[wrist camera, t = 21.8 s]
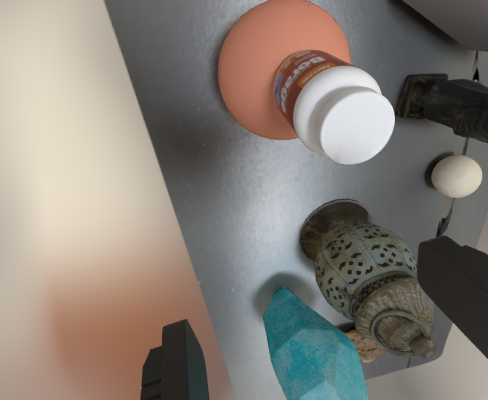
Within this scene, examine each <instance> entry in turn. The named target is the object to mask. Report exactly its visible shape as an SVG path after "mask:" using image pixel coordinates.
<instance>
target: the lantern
mask: <svg viewBox="0 0 488 400" xmlns="http://www.w3.org/2000/svg"><path fill="white" fill-rule="evenodd" d="M299 241H300V245H301V249H302V251H303V252H304V253H305V255H306V256H307V257H308V258H309V259H311V260H313V261H315V276H316V282H317V284H318V286H319V288H320V291H321V292H322V294H323V296H324V297H325V299H326V300H327V302H328V303H329V304H330V305H331V306H332V307H333V308H334V309H336V310H337V311H338V312H339V313H340V314H342V315H343V316H345V317H346V318H348V319H350V320H353V321H354V323H355V328H356V330H357V331H358V332H359V333H360V334H361V336H363V337H365V338H367V339H370V340H372V341H376V343H377V344H378V345H379V346H380V347H381V348H382V349H384V350H385V351H387V352H389V353H391V354H394V355H397V356H404V357H408V356H414V355H419V356H421V357H424V358H426V357H431V356H433V355H434V353H435V351H436V344H435V342H434V340H433V339H432V338H431V337H430V334H431V333H432V331H433V328H434V309H435V303H434V302H433V301H432V300H431V299H430V298H429V297H428V296H427V295H426V294H425V292H424V291H423V290H422V288H421V287H420V285H419V283H418V280H417V263H416V261H415V258H414V256H413V253H412V251H411V250H410V248H409V247H408V246H407V245H406V244H405V243H404V242H403V241H402V240H401V239H400V238H399V237H398V236H397V235H396V234H395V233H394V232H392V231H390V230H387V229H385V228H382V227H380V226H377V225H374V224H371V216H370V214H369V212H368V210H367V208H366V207H364V206H363V205H362V204H360V203H359V202H358V201H354V200H350V199H338V200H333V201H331V202H328V203H325V204H323V205H322V206H320V207H319V208H317V209H316V210H314V211H313V212H312V213H311V215H310V216H309V217H308V218H307V219H306V220H305V223H304V225H303V227H302V229H301V233H300V239H299ZM383 343H384V344H386V345H388V346H390V347H391V348H389V347H388V346H386V345H384V344H383ZM392 348H393V349H392ZM394 349H395V350H394ZM407 349H412V351H405V352H404V351H397V350H407Z"/></svg>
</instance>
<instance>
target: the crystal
mask: <svg viewBox="0 0 488 400" xmlns="http://www.w3.org/2000/svg"><path fill="white" fill-rule="evenodd" d="M263 320H264V325H265V330H266V335H267V341H268V346H269V352H270V358H271V362H272V365H273V368H274V371H275V373H276V376H277V378H278V381H279V383H280V385H281V387H282V390H283V392H284V394H285V396H286V398H287V400H369V398H368V394H367V389H366V385H365V381H364V376H363V372H362V367H361V363H360V358H359V354H358V352H357V349H356V347H355V345H354V343H353V342H352V341H351V339H350V338H349V337H348V336H347V335H346V334H344V333H343V332H342V331H340V330H339V329H338V328H336V327H335V326H334V325H332V324H331V323H330V322H329V321H327V320H326V319H325V318H323V317H322V316H320V315H319V314H318V313H316V312H315V311H314V310H313V309H311V308H310V307H309V306H308V305H307V304H305V303H304V302H303V301H302V300H301V299H299V298H298V297H297V296H296V295H295V294H293V293H292V292H291V291H290V290H288V289H287V288H286V287H284V286H283V287H282V288H281V289H280V290H279V291H277V292H276V293H275V294H274V295H273V297H272V300H271V302H270V305H269V307H268V309H267V310H266V312H265V313H264V315H263Z"/></svg>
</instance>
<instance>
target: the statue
mask: <svg viewBox="0 0 488 400" xmlns="http://www.w3.org/2000/svg"><path fill="white" fill-rule="evenodd" d="M396 114H397V116H399V117H401V118H416V119H428V120H430V121H434V122H437V123H440V124H443V125H446V126H448V127H451V128H453V132H454V133H455V134H456V135H459V136H462V137H466V138H467V137H471V138H474V139H477V140H479V141H482V142H486V143H488V87H486V86H484V85H482V84H480V83H478V82H475V81H471V80H466V79H457V80H448V75H447V74H419V75H410V76H409V77H408V79H407V81H406V84H405V87H404V90H403V92H402V96H401V99H400V102H399V104H398V107H397V111H396Z"/></svg>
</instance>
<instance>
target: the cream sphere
mask: <svg viewBox="0 0 488 400" xmlns="http://www.w3.org/2000/svg"><path fill="white" fill-rule="evenodd" d="M431 179H432V183H433V185H434V186H435V188H436V189H437V190H438V191H439V192H441V193H442V194H444V195H446V196H449V197H456V198H460V197H465V196H467V195H469V194H471V193H473V192H474V191H475V190H476V189H477V188H478V187H479V185H480V183H481V180H482V171H481V168H480V166H479V165H478V164H477V163H476V162H475V161H474V160H473V159H471V158H469V157H467V156H463V155H453V156H449V157H446V158H444V159H442V160H441V161H439V162H438V163H437V164H436V166H435V167H434V169H433V172H432V176H431Z"/></svg>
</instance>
